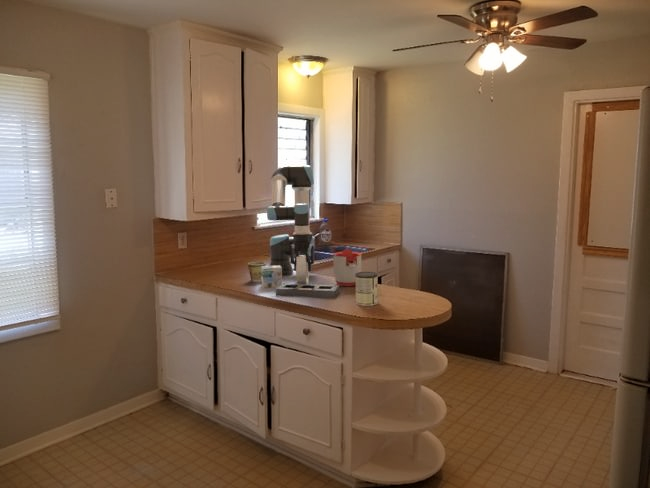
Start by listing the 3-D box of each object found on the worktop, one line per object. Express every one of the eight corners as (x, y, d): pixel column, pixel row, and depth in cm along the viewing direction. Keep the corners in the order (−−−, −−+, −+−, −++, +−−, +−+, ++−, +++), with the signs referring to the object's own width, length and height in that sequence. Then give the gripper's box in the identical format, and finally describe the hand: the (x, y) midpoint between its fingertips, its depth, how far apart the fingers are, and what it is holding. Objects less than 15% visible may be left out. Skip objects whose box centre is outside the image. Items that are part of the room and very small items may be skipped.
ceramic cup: (262, 282, 306) (262, 265, 305) (245, 282, 308) (245, 264, 307) (269, 278, 319) (269, 261, 317) (253, 277, 321) (252, 260, 319)
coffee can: (354, 300, 262) (354, 271, 260) (376, 300, 262) (376, 271, 260) (356, 306, 252) (356, 276, 250) (378, 305, 252) (378, 275, 250)
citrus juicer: (338, 289, 287) (338, 251, 284) (329, 282, 304) (329, 246, 301) (367, 287, 291) (367, 249, 288) (356, 280, 308) (356, 245, 305)
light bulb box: (263, 288, 292) (262, 268, 291) (261, 285, 299) (260, 266, 297) (282, 286, 295) (282, 267, 294) (280, 284, 301) (279, 264, 300)
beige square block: (299, 282, 294) (299, 255, 292) (308, 283, 293) (308, 255, 290) (297, 284, 289) (296, 256, 287) (306, 285, 288) (305, 257, 286)
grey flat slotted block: (283, 289, 288) (283, 283, 287) (339, 291, 281) (339, 285, 280) (275, 295, 275) (275, 288, 275) (334, 297, 268) (334, 290, 268)
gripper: (283, 234, 285) (284, 277, 289) (316, 234, 281) (317, 279, 285) (287, 232, 292) (288, 274, 296) (320, 232, 288) (321, 276, 292)
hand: (302, 276), depth 290 cm, fingers closed on beige square block, 5 cm apart
